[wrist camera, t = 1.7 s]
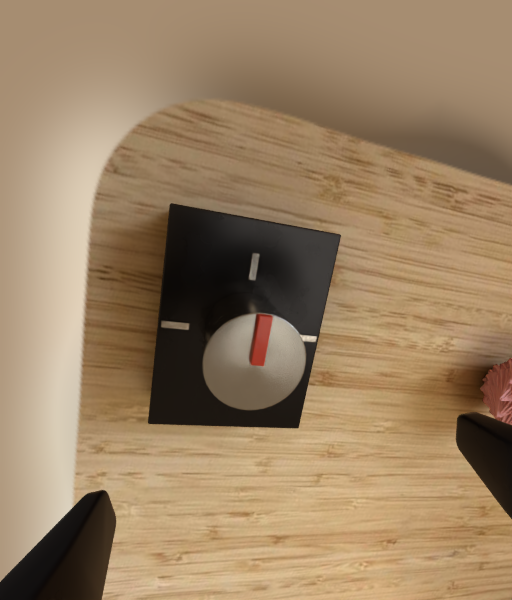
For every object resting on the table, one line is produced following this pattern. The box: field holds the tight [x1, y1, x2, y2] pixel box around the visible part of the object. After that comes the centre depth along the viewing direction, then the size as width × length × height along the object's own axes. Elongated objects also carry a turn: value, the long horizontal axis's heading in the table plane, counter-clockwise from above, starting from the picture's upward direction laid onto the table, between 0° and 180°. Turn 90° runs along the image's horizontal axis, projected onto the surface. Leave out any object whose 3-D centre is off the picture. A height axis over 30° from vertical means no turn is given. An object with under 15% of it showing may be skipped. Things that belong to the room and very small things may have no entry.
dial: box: [202, 292, 306, 410], centre depth 14 cm, size 4×4×4 cm
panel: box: [148, 203, 341, 428], centre depth 17 cm, size 12×9×3 cm
